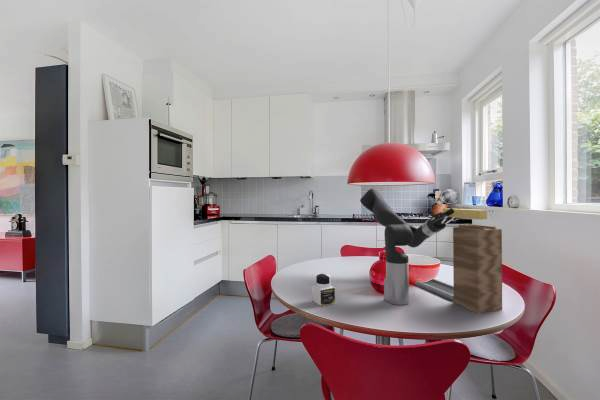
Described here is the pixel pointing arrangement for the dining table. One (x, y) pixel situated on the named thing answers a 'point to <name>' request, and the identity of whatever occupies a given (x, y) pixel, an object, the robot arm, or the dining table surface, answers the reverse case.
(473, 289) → the stand
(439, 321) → the dining table surface
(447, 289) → the tray
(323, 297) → the medicine bottle
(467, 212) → the bar
